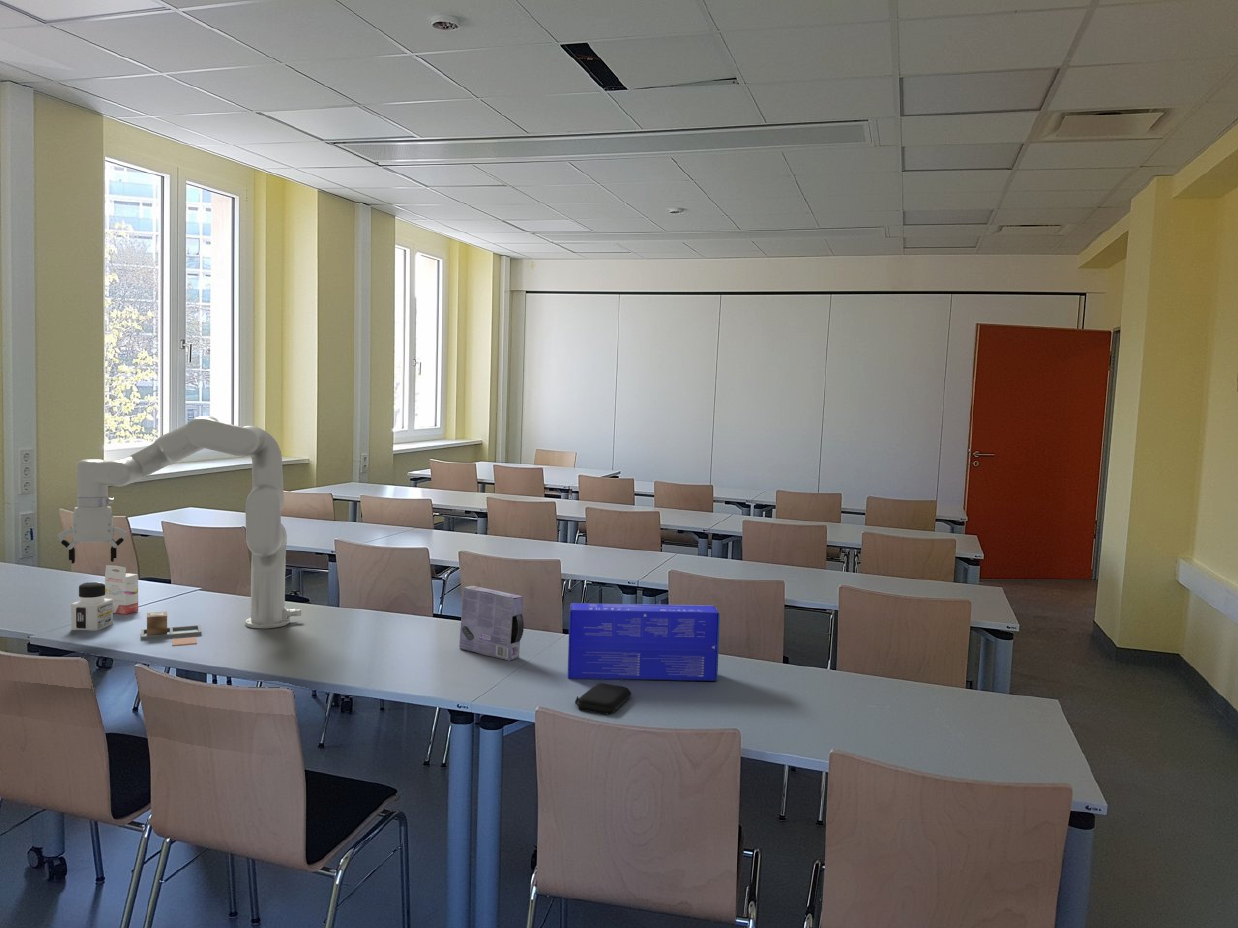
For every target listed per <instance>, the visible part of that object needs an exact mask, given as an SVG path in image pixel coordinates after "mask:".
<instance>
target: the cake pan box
mask: <svg viewBox="0 0 1238 928" xmlns="http://www.w3.org/2000/svg"><path fill="white" fill-rule="evenodd" d="M461 602H462V604H461V615H460V616H461V618H460V619H461V620H460V629H459V631H460V632H459V644H458V645H459V646H458V647H459V650H464V651H469V652H473V653H476V654H479V655H483V656H485V657H493V658H497V659H501V660H504V661H508V662H511V661H513V660H516V659H519V658H520V650H521V649H520V645H521V641H522V638H523V634H524V629H525V622H524V617H523V605H524V604H523V602H524V596H522V595H518V594H513V593H509V592H504V591H500V590H494V589H490V588H486V587H485V588H484V587H481V586H477V585H470V586H464V587H463V591H462V601H461Z"/></svg>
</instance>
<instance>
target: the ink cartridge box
mask: <svg viewBox="0 0 1238 928" xmlns="http://www.w3.org/2000/svg"><path fill="white" fill-rule="evenodd" d="M113 570H117V571H113ZM104 584H105V598H104V599H113V614H120V615H129V614H134V613H137V612H139V574H137V573H127V567H126V566H119V565H111V564H110V565H109V564H106V565H105V575H104Z"/></svg>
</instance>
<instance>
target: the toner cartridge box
mask: <svg viewBox="0 0 1238 928" xmlns="http://www.w3.org/2000/svg"><path fill="white" fill-rule="evenodd" d="M568 613H569V616H568V617H569V618H568V644H567V645H568V649H567V650H568V652H567V679H569V680H604V681H605V680H606V681H607V680H609V681H612V680H613V681H614V680H617V681H620V680H621V681H707V682H708V681H712V682H717V681H718V675H719V673H718V671H719V649H720V648H719V647H720V628H721V627H720V625H721V624H720V622H721V620H720V619H721V612H720V611H719V610H718V608H717V606H715V605H704V604H703V605H697V604H696V605H695V604H648V603H647V604H643V603H642V604H641V603H640V604H639V603H589V602H588V603H586V602H585V603H576V602H573V603H572V602H571V603H570V605H569V612H568Z"/></svg>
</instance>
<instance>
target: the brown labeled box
mask: <svg viewBox="0 0 1238 928" xmlns="http://www.w3.org/2000/svg"><path fill="white" fill-rule="evenodd" d="M167 627H168V611H157V612H156V611H154V612H146V629H147V636H149V635H161V634H167Z"/></svg>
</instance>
